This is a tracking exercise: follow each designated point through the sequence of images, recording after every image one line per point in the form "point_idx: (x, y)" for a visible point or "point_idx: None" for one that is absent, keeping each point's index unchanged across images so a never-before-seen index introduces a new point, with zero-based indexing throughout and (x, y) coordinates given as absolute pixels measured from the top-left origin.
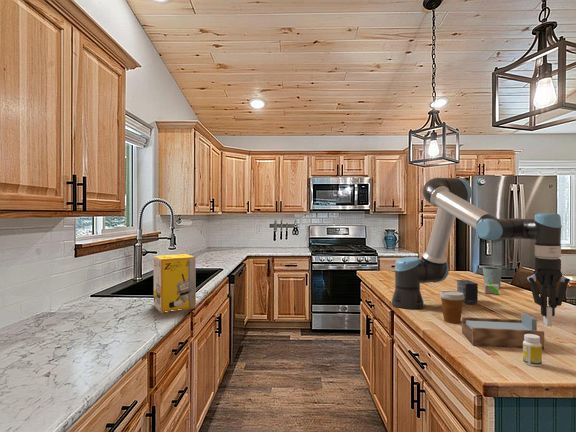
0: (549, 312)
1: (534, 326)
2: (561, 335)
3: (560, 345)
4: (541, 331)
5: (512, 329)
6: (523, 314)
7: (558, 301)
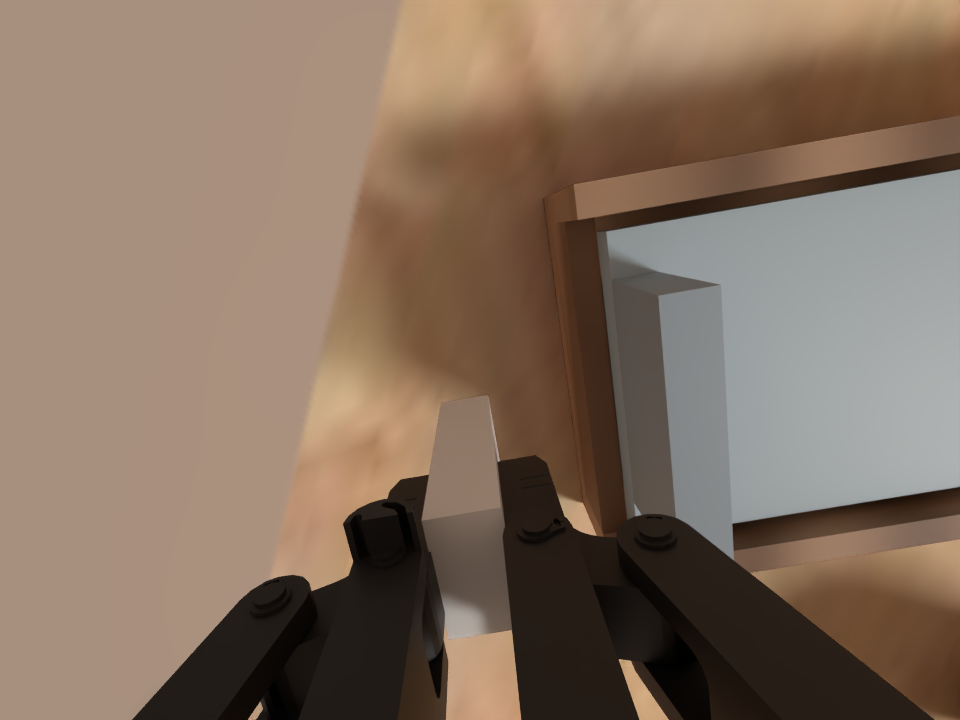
0: (465, 470)
1: (650, 281)
2: None
3: (391, 361)
4: (599, 188)
5: (900, 156)
6: (730, 520)
7: (269, 640)
